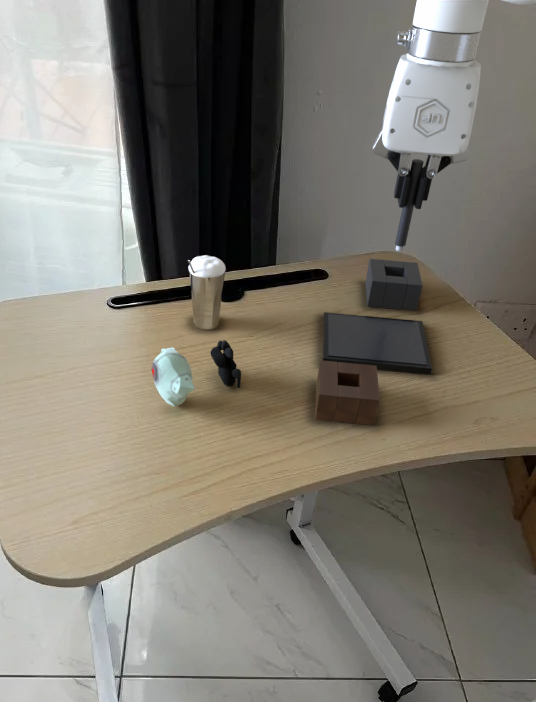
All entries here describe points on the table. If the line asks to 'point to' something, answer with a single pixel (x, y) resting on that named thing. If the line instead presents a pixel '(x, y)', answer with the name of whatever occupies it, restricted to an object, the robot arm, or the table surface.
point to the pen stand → (347, 393)
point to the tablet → (376, 342)
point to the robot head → (172, 376)
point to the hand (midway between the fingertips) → (408, 203)
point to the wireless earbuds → (226, 364)
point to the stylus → (409, 204)
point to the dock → (393, 284)
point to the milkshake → (206, 290)
